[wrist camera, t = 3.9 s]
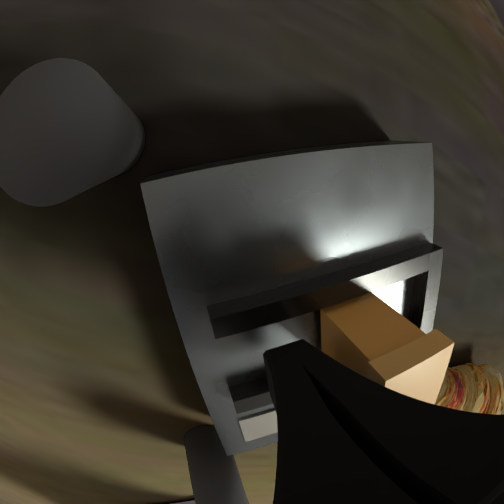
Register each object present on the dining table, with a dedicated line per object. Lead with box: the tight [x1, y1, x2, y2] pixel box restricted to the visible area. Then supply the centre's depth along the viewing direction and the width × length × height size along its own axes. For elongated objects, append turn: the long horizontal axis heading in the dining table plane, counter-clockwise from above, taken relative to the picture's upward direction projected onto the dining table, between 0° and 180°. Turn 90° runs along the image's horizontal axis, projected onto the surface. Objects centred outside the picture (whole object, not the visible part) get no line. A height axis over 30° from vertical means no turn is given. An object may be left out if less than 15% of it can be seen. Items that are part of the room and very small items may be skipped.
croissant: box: [435, 363, 504, 415], centre depth 18 cm, size 21×10×8 cm, turn 52°
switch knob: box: [320, 292, 454, 404], centre depth 9 cm, size 2×3×4 cm
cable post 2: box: [184, 425, 249, 504], centre depth 12 cm, size 2×2×6 cm
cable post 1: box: [0, 58, 145, 207], centre depth 6 cm, size 2×2×6 cm
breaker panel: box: [140, 141, 443, 456], centre depth 11 cm, size 10×12×3 cm
